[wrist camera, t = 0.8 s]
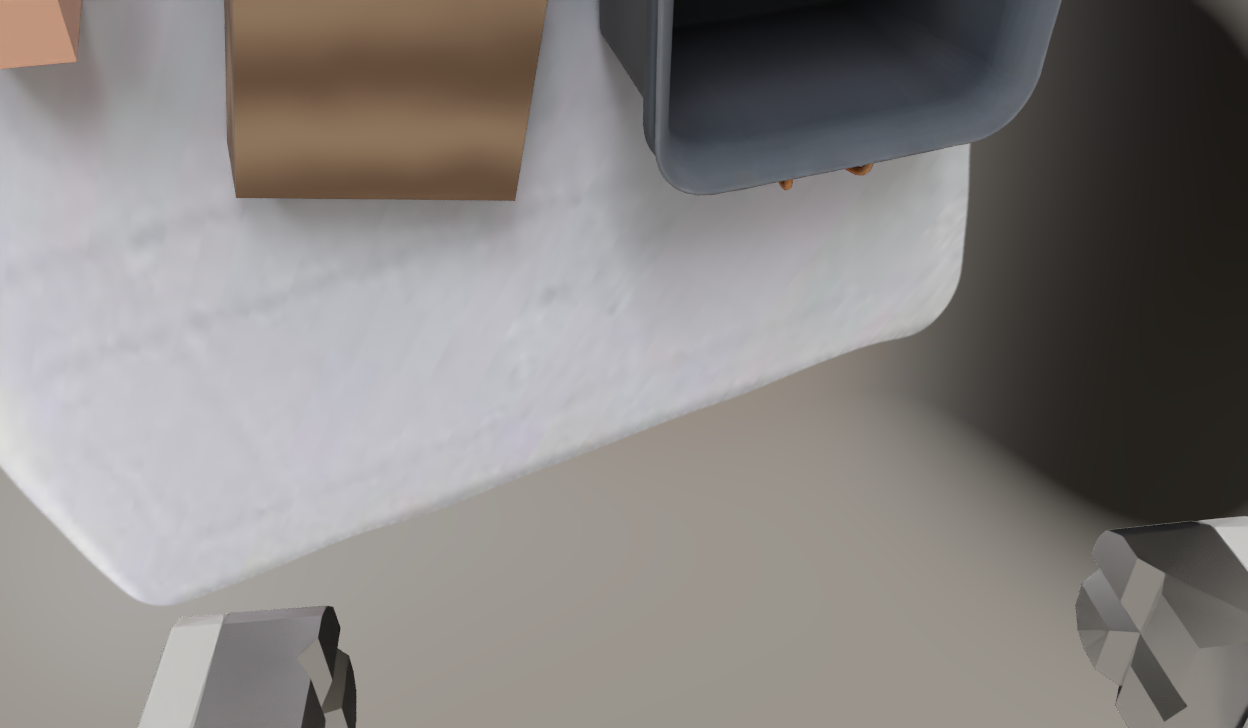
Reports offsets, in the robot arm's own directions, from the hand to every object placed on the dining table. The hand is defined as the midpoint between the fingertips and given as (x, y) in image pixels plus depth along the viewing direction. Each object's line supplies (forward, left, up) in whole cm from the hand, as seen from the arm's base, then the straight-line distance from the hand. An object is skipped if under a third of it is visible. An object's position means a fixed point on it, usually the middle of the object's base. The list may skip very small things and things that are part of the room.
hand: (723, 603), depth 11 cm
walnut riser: (+10, +5, -46) cm, 48 cm away
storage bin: (+5, +25, -47) cm, 53 cm away
